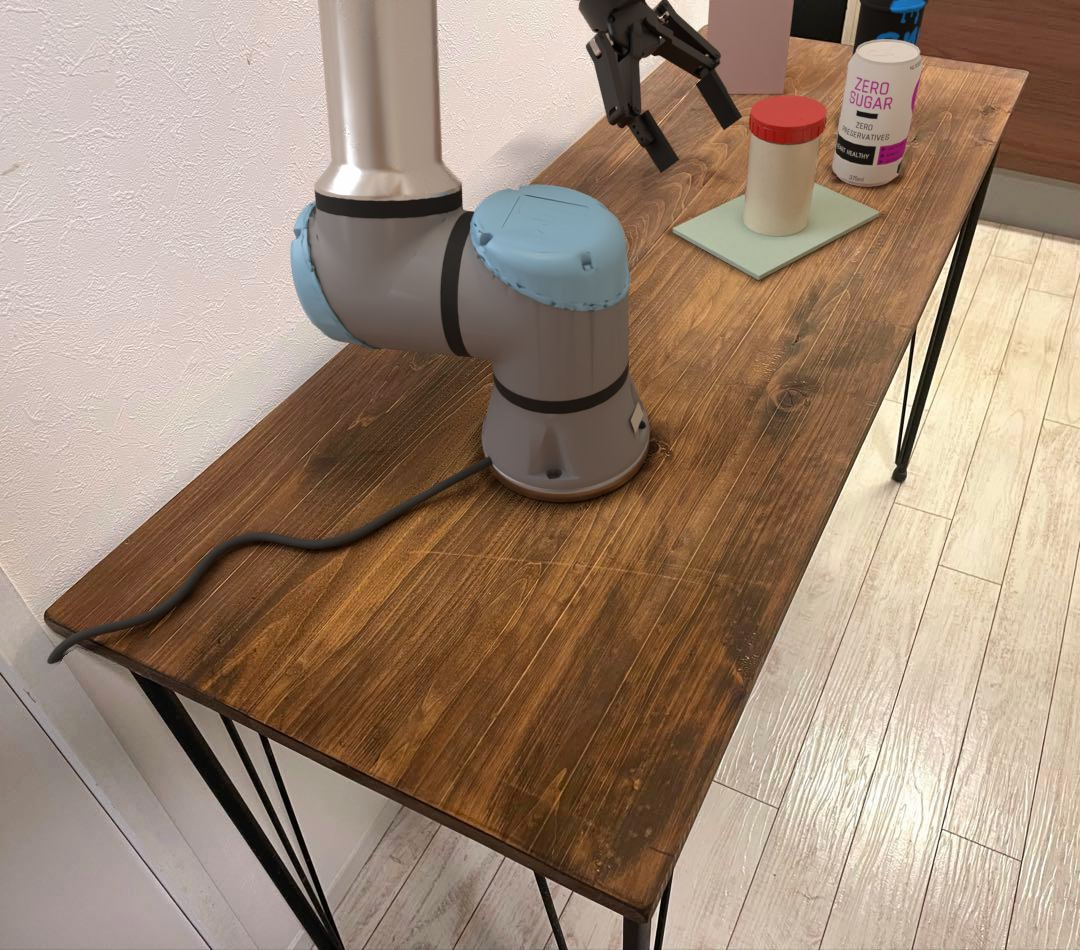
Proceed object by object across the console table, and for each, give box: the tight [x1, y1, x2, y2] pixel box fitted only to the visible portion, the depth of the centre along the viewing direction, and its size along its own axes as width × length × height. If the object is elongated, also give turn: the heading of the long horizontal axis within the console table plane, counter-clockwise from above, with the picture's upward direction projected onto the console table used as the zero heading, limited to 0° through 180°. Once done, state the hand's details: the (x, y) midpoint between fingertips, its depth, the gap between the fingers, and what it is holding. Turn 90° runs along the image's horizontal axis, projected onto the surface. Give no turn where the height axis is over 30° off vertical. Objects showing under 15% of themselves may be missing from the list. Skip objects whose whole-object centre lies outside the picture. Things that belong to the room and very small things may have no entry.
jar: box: [743, 132, 823, 236], centre depth 104 cm, size 8×8×12 cm
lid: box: [748, 94, 828, 144], centre depth 100 cm, size 8×8×2 cm
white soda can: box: [831, 39, 924, 188], centre depth 110 cm, size 8×8×15 cm
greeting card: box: [706, 0, 795, 95], centre depth 130 cm, size 11×7×15 cm, turn 46°
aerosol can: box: [851, 0, 929, 58], centre depth 118 cm, size 8×8×20 cm
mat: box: [672, 182, 881, 281], centre depth 108 cm, size 20×14×1 cm
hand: (702, 144), depth 108 cm, fingers open, 13 cm apart
